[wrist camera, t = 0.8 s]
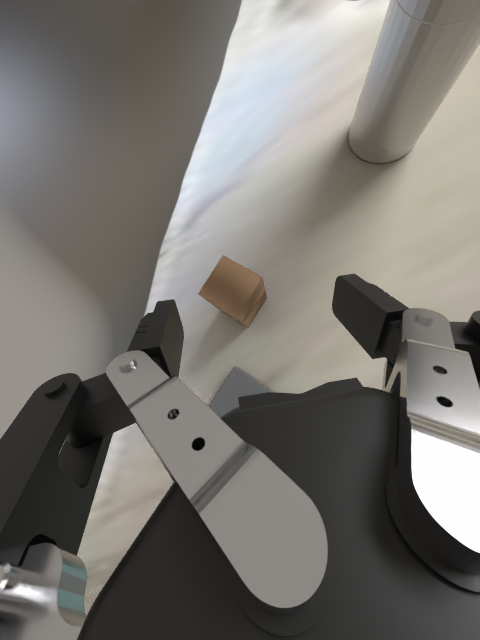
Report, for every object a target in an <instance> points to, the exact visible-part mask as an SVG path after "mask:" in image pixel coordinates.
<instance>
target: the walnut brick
mask: <svg viewBox="0 0 480 640" xmlns="http://www.w3.org/2000/svg"><path fill="white" fill-rule="evenodd" d="M199 295H200V296H202V297H203V298H204V299H206V300H207V301H208V302H210V303H211V304H212V305H214V306H215V307H217V308H218V309H219V310H221V311H222V312H224V313H226V314H227V315H229V316H230V317H232V318H233V319H235V320H237V321H238V322H240V323H241V324H243V325H245V326H246V327H249V325H250V324H251V322H252V321H253V319H254V317H255V316H256V314H257V313H258V311H259V309H260V308H261V306H262V305H263V303H264V302H265V300H266V298H267V296H266V292H265V288H264V283H263V279H262V277H261V276H259V275H257V274H256V273H254V272H252V271H250V270H248V269H247V268H245V267H243V266H241V265H240V264H238V263H236V262H234V261H232V260H231V259H229V258H227V257H225V256H222V258H221V259H220V261H219V263H218V264H217V266H216V267H215V269H214V270H213V272H212V273H211V275H210V277H209V278H208V280H207V281H206V283H205V284H204V286H203V287H202V289H201V290H200V292H199Z"/></svg>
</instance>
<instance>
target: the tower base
mask: <svg viewBox="0 0 480 640" xmlns="http://www.w3.org/2000/svg"><path fill="white" fill-rule="evenodd" d="M267 392H271V393H274V392H272V391H271V390H269V389H268V388H266V387H265V386H264V385H262V384H261V383H259V382H258V381H256V380H255V379H253V378H252V377H250V376H249V375H247V374H246V373H244V372H243V371H242V370H240V369H239V368H237V367H234V368H233V370H232V371H231V373H230V375H229V376H228V378H227V379H226V381H225V383H224V384H223V386H222V387H221V389H220V390H219V392H218V394H217V395H216V397H215V398H214V400H213V402H212V403H211V405H210V406H209V408H210V409H211V410H212V411H213V412H214V413H215V414H216V415H217V416H218V417H219V418H221V417H222V416H223V415H225V414H226V413H228V412H229V411H231V410H233V409H235V408H237V407H239V400H238V397H242V396H248V395H254V394H260V393H267Z"/></svg>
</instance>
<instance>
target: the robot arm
mask: <svg viewBox="0 0 480 640" xmlns="http://www.w3.org/2000/svg"><path fill="white" fill-rule="evenodd" d="M479 44H480V0H390V3H389V6H388V9H387V13H386V16H385V19H384V22H383V25H382V28H381V32H380V35H379V38H378V41H377V44H376V48H375V51H374V54H373V57H372V60H371V64H370V67H369V70H368V73H367V76H366V80H365V83H364V86H363V89H362V92H361V95H360V99H359V102H358V105H357V108H356V111H355V114H354V118H353V121H352V124H351V127H350V130H349V136H348V140H349V145H350V147H351V149H352V151H353V152H354V153H355V154H356V155H357V156H358V157H360V158H361V159H363V160H365V161H369V162H372V163H387V162H391V161H395V160H397V159H399V158H401V157H403V156H404V155H405V154H407V153H408V152H409V151H410V150H411V149H412V147H413V146H414V144H415V143H416V141H417V140H418V138H419V137H420V135H421V133H422V132H423V130H424V129H425V127H426V126H427V124H428V123H429V121H430V120H431V118H432V117H433V115H434V114H435V112H436V111H437V109H438V107H439V106H440V104H441V103H442V101H443V100H444V98H445V97H446V95H447V93H448V92H449V90H450V89H451V87H452V86H453V84H454V83H455V81H456V80H457V78H458V76H459V75H460V73H461V72H462V70H463V69H464V67H465V66H466V64H467V62H468V61H469V59H470V58H471V56H472V55H473V53H474V52H475V50H476V48H477V47H478V45H479ZM332 309H333V313H334V315H335V316H336V317H337V319H338V320H339V321H340V322H341V323H342V324H343V326H344V327H345V328H346V329H347V330H348V331H349V332H350V334H351V335H352V336H353V337H354V338H355V339H356V340H357V342H358V343H359V344H360V345H361V346H362V347H363V349H364V350H365V351H366V352H367V353H368V354H369V355H370V357H371V358H372V359H375V358H382V357H386V358H387V360H386V363H385V366H384V375H383V385H382V390H379V389H375V388H369V387H363V386H362V384H361V383H360V382H359V380H358V379H357V378H352V379H346V380H340V381H334V382H328V383H326V384H323V385H321V386H319V387H316V388H314V389H312V390H309V391H307V392H305V393H302V394H290V393H271V392H267V393H260V394H254V395H248V396H242V397H238V400H239V407H237V408H235V409H233V410H231V411H229V412H228V413H226V414H225V415H223V416H222V417H221V418H219V417H218V416H217V415H216V414H215V413H214V412H213V411H212V410H211V409H210V408H209V407H208V406H207V405H206V404H205V403H204V402H203V401H202V400H201V399H200V398H199V397H198V396H197V395H196V394H194V393H193V392H192V391H191V390H190V389H189V388H188V387H187V386H186V385H185V384H184V383H183V382H182V381H181V380H180V379H179V378H178V376H179V368H180V361H181V354H182V347H183V340H184V332H183V326H182V323H181V320H180V316H179V313H178V309H177V306H176V303H175V301H174V300H173V299H172V300H165V301H158V302H157V304H156V306H155V309H154V312H153V313H148V314H147V315H146V316H144V317H143V318H142V319H141V321H140V324H139V325H138V328H137V330H136V332H135V333H136V334H135V335H134V337H133V339H132V341H131V344H130V346H129V348H128V350H127V352H126V353H123V354H121V355H119V356H118V357H116V358H115V359H113V360H112V361H111V362H110V363H109V365H108V367H107V369H106V373H104V374H101V375H99V376H96V377H93V378H91V379H88V380H85V381H82V380H81V379H80V377H79V376H78V375H76V374H73V373H68V374H62V375H59V376H57V377H54V378H52V379H50V380H48V381H47V382H45V383H44V384H42V385H41V386H40V387H39V388H37V389H36V391H35V392H34V393H33V394H32V396H31V397H30V398H29V400H28V401H27V403H26V404H25V405H24V407H23V408H22V410H21V411H20V413H19V414H18V415H17V417H16V418H15V420H14V421H13V423H12V424H11V425H10V427H9V428H8V430H7V431H6V432H5V434H4V435H3V437H2V438H1V439H0V640H480V311H476V312H474V313H473V314H472V316H471V317H470V319H469V321H468V322H449V321H448V319H447V318H446V317H445V316H443V315H442V314H440V313H438V312H435V311H432V310H428V309H422V308H411V309H409V308H408V307H406V306H405V305H403V304H402V303H401V302H399V301H398V300H396V299H395V298H393V297H392V296H391V297H390V295H389V294H388V293H386V292H384V291H383V290H382V289H380V288H379V287H377V286H376V285H373V284H370V283H368V282H366V281H364V280H363V279H362V278H360V277H359V276H357V275H356V274H349V275H342V276H338V277H337V279H336V282H335V289H334V295H333V302H332ZM134 423H136V424H137V425H138V427H139V428H140V430H141V431H142V433H143V434H144V436H145V438H146V439H147V441H148V442H149V444H150V445H151V447H152V448H153V450H154V452H155V453H156V455H157V456H158V458H159V459H160V461H161V463H162V464H163V466H164V467H165V469H166V471H167V472H168V474H169V475H170V477H171V478H172V480H173V482H174V483H173V484H172V486H171V487H170V489H169V490H168V492H167V493H166V495H165V496H164V498H163V499H162V501H161V502H160V504H159V505H158V507H157V508H156V510H155V511H154V513H153V514H152V516H151V517H150V518H149V520H148V521H147V523H146V524H145V526H144V527H143V529H142V530H141V532H140V533H139V535H138V536H137V538H136V539H135V541H134V542H133V544H132V545H131V547H130V548H129V550H128V551H127V553H126V554H125V556H124V557H123V559H122V560H121V562H120V563H119V565H118V566H117V568H116V569H115V571H114V572H113V574H112V575H111V577H110V578H109V580H108V581H107V583H106V584H105V586H104V587H103V589H102V590H101V592H100V593H99V595H98V596H97V598H96V600H95V602H94V603H93V605H92V607H91V609H90V611H89V613H88V615H87V617H86V614H85V609H84V594H85V587H86V580H87V573H86V567H85V564H84V562H83V561H82V560H81V559H80V558H79V557H77V553H78V550H79V546H80V543H81V540H82V536H83V533H84V529H85V526H86V523H87V519H88V516H89V512H90V509H91V506H92V502H93V499H94V495H95V492H96V489H97V485H98V482H99V479H100V475H101V472H102V468H103V465H104V462H105V458H106V455H107V451H108V448H109V445H110V441H111V438H112V434H113V433H114V432H116V431H118V430H120V429H123V428H125V427H127V426H129V425H131V424H134ZM65 439H66V441H65ZM64 441H65V443H64ZM63 443H64V445H63ZM62 445H63V447H62ZM61 447H62V449H61ZM60 450H61V451H60ZM59 452H60V454H59ZM58 455H59V456H58Z"/></svg>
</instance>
